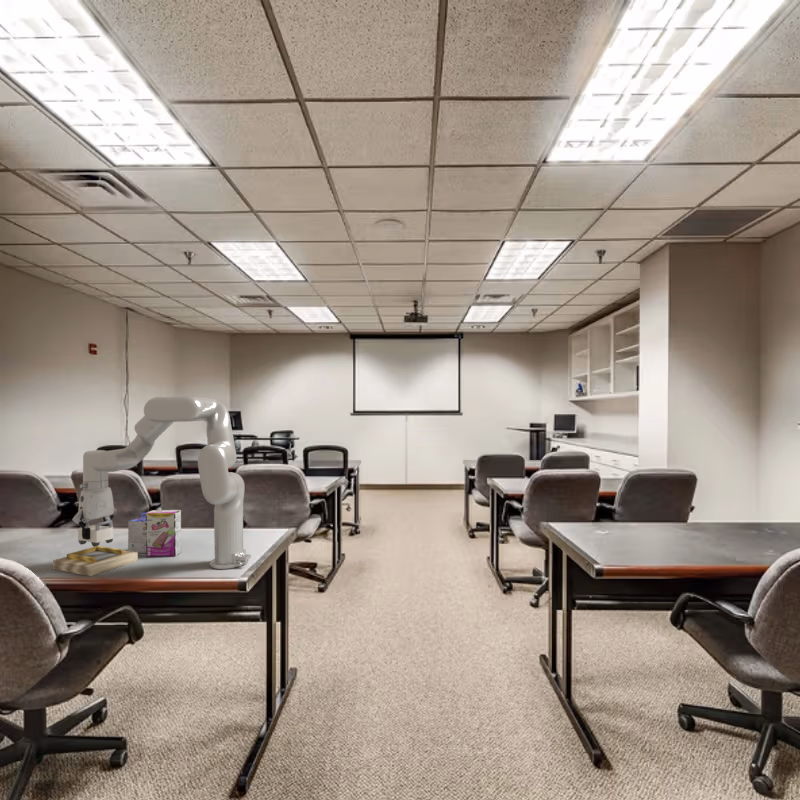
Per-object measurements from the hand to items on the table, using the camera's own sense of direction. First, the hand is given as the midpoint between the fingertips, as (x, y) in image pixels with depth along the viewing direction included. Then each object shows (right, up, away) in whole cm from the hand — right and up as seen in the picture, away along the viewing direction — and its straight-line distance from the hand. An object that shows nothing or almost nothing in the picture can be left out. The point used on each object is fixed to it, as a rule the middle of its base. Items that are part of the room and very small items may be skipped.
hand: (95, 536), depth 169 cm
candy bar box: (+19, -10, +10) cm, 24 cm away
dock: (0, -10, 0) cm, 10 cm away
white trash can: (0, -3, 0) cm, 3 cm away
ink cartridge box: (+9, -10, +16) cm, 21 cm away
